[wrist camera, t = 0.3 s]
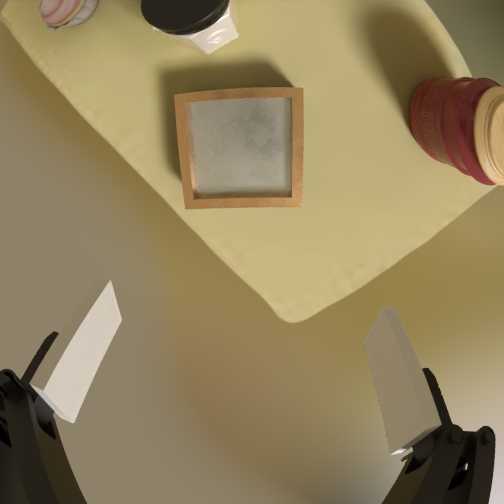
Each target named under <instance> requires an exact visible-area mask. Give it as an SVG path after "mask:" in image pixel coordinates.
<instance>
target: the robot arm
mask: <svg viewBox="0 0 504 504" xmlns="http://www.w3.org/2000/svg"><path fill="white" fill-rule="evenodd" d="M121 321H122V318H121V315H120V312H119V309H118V305H117V301H116V298H115V294H114V291H113V287H112V282H111V280H110V279H104V278H98V279H97V280H96V281H95V283H94V284H93V285H92V287H91V288H90V289H89V291H88V292H87V293H86V295H85V296H84V297H83V299H82V300H81V302H80V303H79V304H78V306H77V308H76V309H75V310H74V312H73V313H72V315H71V316H70V318H69V319H68V321H67V322H66V324H65V325H64V327H63V328H62V330H61V331H60V333H57V332H55V331H54V332H53V333H51V334H50V335H49V336H48V337H47V338H46V339H45V340H44V342H43V343H42V345H41V346H40V347H41V348H40V349H39V350H38V351H37V353H36V355H35V356H34V358H33V359H32V361H31V363H30V365H29V366H28V368H27V370H26V371H25V373H24V375H23V377H22V378H21V380H19V378H18V377H17V376H16V374H15V373H14V372H13V371H12V370H10V369H4V370H2V371H0V504H87V502H86V501H85V499H84V496H83V494H82V492H81V490H80V488H79V486H78V483H77V481H76V479H75V477H74V474H73V472H72V469H71V467H70V464H69V462H68V459H67V456H66V454H65V451H64V448H63V445H62V442H61V439H60V436H59V432H58V429H57V426H56V422H55V419H54V417H53V414H54V412H56V413H57V415H59V416H60V417H61V418H63V419H65V420H67V421H69V422H71V423H74V422H75V419H76V417H77V415H78V412H79V409H80V407H81V405H82V403H83V400H84V398H85V396H86V393H87V391H88V389H89V386H90V384H91V382H92V380H93V378H94V375H95V373H96V371H97V369H98V367H99V365H100V362H101V360H102V358H103V356H104V354H105V352H106V350H107V348H108V346H109V344H110V342H111V340H112V338H113V336H114V334H115V332H116V330H117V329H118V326H119V325H120V323H121ZM363 346H364V349H365V352H366V356H367V359H368V363H369V366H370V370H371V374H372V377H373V380H374V385H375V388H376V392H377V396H378V401H379V405H380V409H381V413H382V418H383V422H384V426H385V431H386V436H387V441H388V446H389V451H390V455H392V454H397V453H400V452H405V451H406V450H408V449H409V448H410V447H412V448H413V452H411V453H409V454H408V455H406V456H405V457H403V459H402V460H401V461H404V460H406V459H407V461H406V462H405V465H404V467H403V469H402V471H401V473H400V474H399V476H398V478H397V480H396V482H395V483H394V485H393V487H392V488H391V490H390V491H389V493H388V495H387V496H386V498H385V499H384V501H383V502H382V504H488V503H489V498H490V492H491V485H492V479H493V470H494V459H495V434H494V431H493V430H492V429H491V428H490V427H488V426H483V427H482V428H480V429H479V430H478V431H476V432H471V431H470V432H469V431H463V430H462V428H460V427H459V426H458V425H455V424H453V423H452V422H451V419H450V416H449V413H448V410H447V407H446V404H445V402H444V399H443V396H442V395H441V391H440V388H439V387H438V383H437V381H436V378H435V376H434V375H433V373H432V372H431V371H430V370H429V368H423V369H422V368H421V365H420V363H419V360H418V358H417V355H416V353H415V351H414V348H413V346H412V344H411V341H410V339H409V337H408V335H407V332H406V330H405V328H404V326H403V324H402V321H401V319H400V317H399V315H398V313H397V311H396V309H395V307H382V308H381V310H380V312H379V314H378V316H377V318H376V320H375V322H374V324H373V326H372V328H371V330H370V332H369V334H368V336H367V338H366V340H365V341H364V343H363ZM467 464H468V466H467V470H465V466H466V465H467Z"/></svg>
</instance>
